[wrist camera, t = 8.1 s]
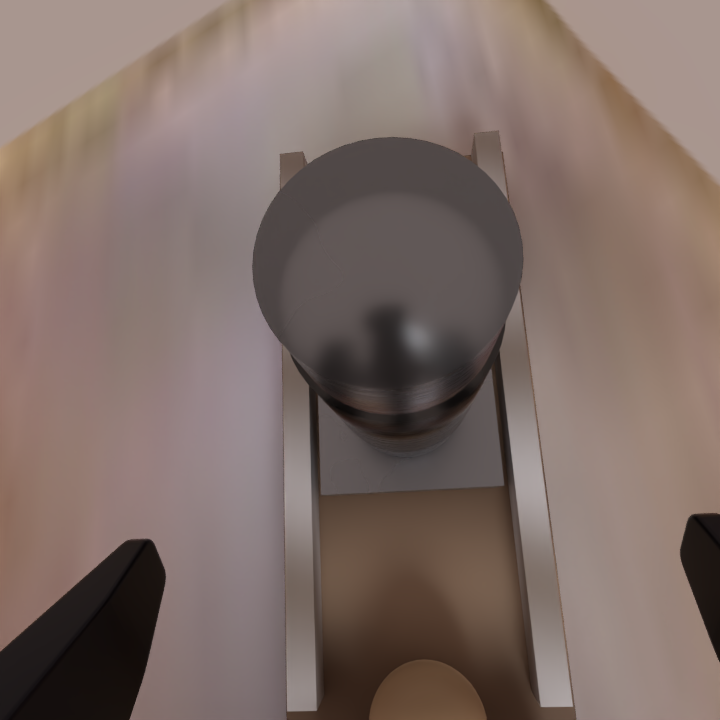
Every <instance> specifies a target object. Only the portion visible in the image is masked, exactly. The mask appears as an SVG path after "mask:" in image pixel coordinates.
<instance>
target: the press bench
mask: <svg viewBox="0 0 720 720" xmlns="http://www.w3.org/2000/svg"><path fill="white" fill-rule="evenodd" d="M464 157H465V158H467V159H469V160H470V161H472V162H473V163H474V164H476V165H477V166H478V167H479V168H481V169H482V170H483V171H484V172H485V173H486V174H487V175H488V176H489V177H490V178H491V179H492V180H493V181H494V182H495V183H496V184H497V186H498V187H499V188H500V190H501V191H502V192H503V194H504V195H505V197H506V198H507V200H508V202H509V196H508V188H507V181H506V173H505V165H504V157H503V152H501V144H500V136H499V131H491V132H482V133H474V139H473V146H472V153H471V155H467V156H464ZM306 165H307V162H306V159H305V156H304V153H303V152H294V153H285V154H280V190H281V189H282V188H283V187H284V185H285V184H286V183H287V182H288V181H289V180H290V179H291V178H292V177H293V176H294V175H295V174H296V173H298V172H299V171H300V170H301V169H302V168H304V167H305V166H306ZM491 370H492V379H493V388H494V397H495V406H496V415H497V424H498V433H499V442H500V451H501V460H502V469H503V478H504V486H500V487H494V488H474V489H455V490H435V491H415V492H396V493H376V494H357V495H337V496H326V495H321V480H320V445H319V410H318V394H317V393H316V392H315V391H314V390H313V389H312V388H311V387H310V386H309V385H308V384H307V382H306V381H305V380H304V378H303V377H302V376H301V374H300V373H299V371H298V369H297V368H296V366H295V364H294V362H293V360H292V358H291V355H290V353H289V351H288V350H287V349H286V348H285V347H284V346H283V344H282V382H283V465H284V547H285V630H286V713H287V720H576V713H575V705H574V698H573V690H572V682H571V675H570V667H569V659H568V651H567V644H566V636H565V628H564V621H563V613H562V605H561V597H560V590H559V582H558V574H557V567H556V559H555V551H554V543H553V536H552V528H551V520H550V513H549V505H548V497H547V489H546V482H545V474H544V466H543V458H542V451H541V443H540V435H539V428H538V420H537V412H536V404H535V397H534V389H533V381H532V374H531V366H530V358H529V350H528V343H527V335H526V327H525V320H524V312H523V304H522V296H521V289H520V286H519V290H518V294H517V296H516V299H515V302H514V304H513V307H512V309H511V311H510V313H509V316H508V318H507V320H506V323H505V332H504V336H503V340H502V344H501V347H500V350H499V352H498V355H497V357H496V359H495V361H494V363H493V365H492V367H491Z"/></svg>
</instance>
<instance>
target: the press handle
mask: <svg viewBox="0 0 720 720" xmlns="http://www.w3.org/2000/svg"><path fill="white" fill-rule="evenodd" d="M522 268H523V247H522V239H521V234H520V229H519V225H518V223H517V220H516V217H515V214H514V212H513V210H512V208H511V206H510V204H509V202H508V200H507V198H506V197H505V195H504V194H503V192H502V191H501V190H500V188H499V187H498V186H497V184H496V183H495V182H494V181H493V180H492V179H491V178H490V177H489V176H488V175H487V174H486V173H485V172H484V171H483V170H482V169H481V168H479V167H478V166H477V165H476V164H474V163H473V162H472V161H470V160H469V159H467V158H465V157H464V156H462V155H460V154H459V153H457V152H455V151H452V150H450V149H448V148H446V147H443V146H440V145H437V144H434V143H431V142H427V141H422V140H417V139H411V138H398V137H388V138H374V139H368V140H362V141H358V142H355V143H351V144H347V145H344V146H342V147H339V148H337V149H334V150H332V151H329V152H328V153H326V154H324V155H322V156H320V157H318V158H317V159H315V160H313V161H312V162H311V163H309V164H308V165H306V166H305V167H304V168H302V169H301V170H300V171H299V172H298V173H296V174H295V175H294V176H293V177H292V178H291V179H290V180H289V181H288V182H287V183H286V184H285V185H284V187H283V188H282V189H281V190H280V191H279V192H278V194H277V195H276V197H275V198H274V200H273V201H272V203H271V204H270V206H269V208H268V210H267V212H266V214H265V215H264V217H263V219H262V222H261V225H260V228H259V231H258V233H257V237H256V242H255V247H254V252H253V281H254V287H255V292H256V296H257V300H258V303H259V305H260V308H261V311H262V314H263V316H264V317H265V319H266V321H267V323H268V325H269V327H270V328H271V330H272V331H273V333H274V334H275V335H276V337H277V338H278V339H279V341H280V342H281V343H282V344H283V346H284V347H285V348H286V349H287V350H288V351H289V353H290V355H291V358H292V360H293V362H294V364H295V366H296V368H297V369H298V371H299V373H300V374H301V376H302V377H303V378H304V380H305V381H306V382H307V384H308V385H309V386H310V387H311V388H312V389H313V390H314V391H315V392H316V393H317V394H318V410H319V445H320V480H321V495H326V496H337V495H357V494H376V493H396V492H415V491H435V490H455V489H474V488H494V487H500V486H504V478H503V469H502V460H501V451H500V442H499V433H498V424H497V415H496V406H495V397H494V388H493V379H492V370H491V367H492V365H493V363H494V361H495V359H496V357H497V355H498V352H499V350H500V347H501V344H502V340H503V336H504V332H505V323H506V320H507V318H508V316H509V313H510V311H511V309H512V307H513V304H514V302H515V299H516V296H517V294H518V290H519V286H520V282H521V278H522Z"/></svg>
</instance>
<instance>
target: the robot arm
mask: <svg viewBox="0 0 720 720" xmlns="http://www.w3.org/2000/svg"><path fill="white" fill-rule="evenodd" d="M680 557H681V562H682V565H683V568H684V571H685V573H686V576H687V579H688V581H689V584H690V587H691V589H692V592H693V595H694V597H695V600H696V603H697V605H698V608H699V611H700V613H701V616H702V619H703V621H704V624H705V627H706V629H707V632H708V635H709V638H710V640H711V643H712V645H713V648H714V650H715V653H716V655H717V658H718V660H719V662H720V514H717V513H702V514H693V515H691V516H690V517H689V518H688V521H687V524H686V528H685V532H684V536H683V540H682V544H681V549H680ZM165 580H166V574H165V569H164V566H163V564H162V561H161V559H160V557H159V554H158V552H157V549H156V547H155V544H154V543H153V541H152V540H150V539H131V540H127V541H125V542H124V543H123V544H122V545H120V546H119V547H118V548H117V549H116V550H115V551H114V552H112V553H111V554H110V555H109V556H108V557H107V558H106V559H105V560H103V561H102V562H101V563H100V564H99V565H98V566H97V567H96V568H94V569H93V570H92V571H91V572H90V573H89V574H88V575H86V576H85V577H84V578H83V579H82V580H81V581H80V582H79V583H77V584H76V585H75V586H74V587H73V588H72V589H71V590H69V591H68V592H67V593H66V594H65V595H64V596H63V597H62V598H60V599H59V600H58V601H57V602H56V603H55V604H54V605H53V606H51V607H50V608H49V609H48V610H47V611H46V612H45V613H43V614H42V615H41V616H40V617H39V618H38V619H37V620H36V621H34V622H33V623H32V624H31V625H30V626H29V627H28V628H26V629H25V630H24V631H23V632H22V633H21V634H20V635H19V636H17V637H16V638H15V639H14V640H13V641H12V642H11V643H10V644H8V645H7V646H6V647H5V648H4V649H3V650H2V651H0V720H129V719H130V716H131V713H132V710H133V707H134V704H135V701H136V698H137V695H138V692H139V689H140V686H141V683H142V680H143V676H144V673H145V670H146V666H147V662H148V658H149V654H150V649H151V645H152V640H153V636H154V631H155V627H156V622H157V618H158V613H159V609H160V604H161V600H162V596H163V591H164V587H165Z"/></svg>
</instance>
